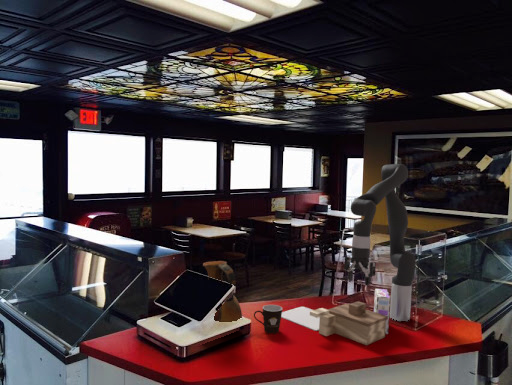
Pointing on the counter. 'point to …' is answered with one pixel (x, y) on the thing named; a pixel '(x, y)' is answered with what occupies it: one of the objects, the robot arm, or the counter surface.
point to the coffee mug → (271, 318)
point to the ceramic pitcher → (230, 307)
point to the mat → (302, 317)
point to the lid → (358, 314)
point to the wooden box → (351, 329)
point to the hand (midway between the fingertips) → (358, 282)
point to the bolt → (319, 312)
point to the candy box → (382, 304)
